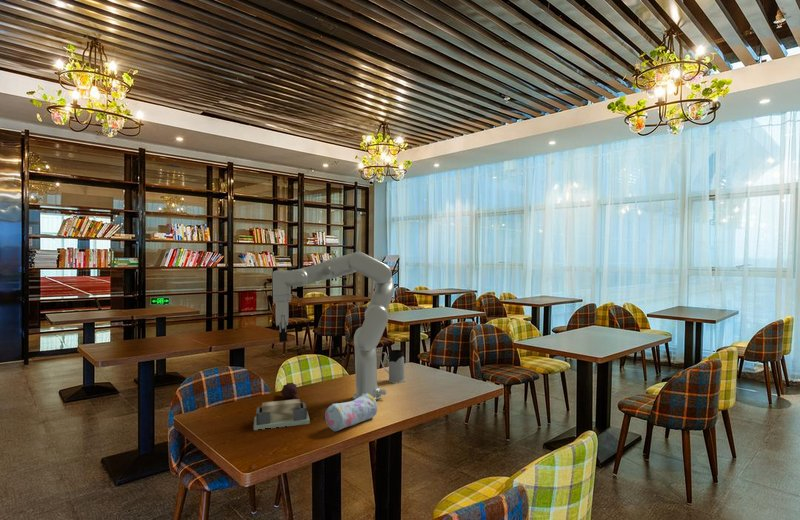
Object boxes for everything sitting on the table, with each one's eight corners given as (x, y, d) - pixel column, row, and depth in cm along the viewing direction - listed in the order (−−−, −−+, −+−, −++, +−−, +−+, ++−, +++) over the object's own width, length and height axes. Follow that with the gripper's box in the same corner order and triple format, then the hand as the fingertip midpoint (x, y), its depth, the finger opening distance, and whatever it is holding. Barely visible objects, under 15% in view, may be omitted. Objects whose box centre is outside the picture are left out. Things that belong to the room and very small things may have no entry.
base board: (307, 414, 183) (307, 411, 183) (309, 423, 172) (309, 419, 172) (254, 420, 178) (254, 417, 178) (253, 430, 167) (253, 426, 167)
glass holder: (399, 383, 227) (398, 353, 227) (376, 380, 235) (375, 351, 235) (408, 379, 235) (407, 350, 235) (385, 376, 242) (385, 348, 242)
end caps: (305, 412, 182) (304, 401, 182) (306, 419, 173) (306, 408, 173) (257, 417, 177) (256, 407, 177) (256, 425, 168) (256, 414, 168)
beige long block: (300, 414, 179) (299, 398, 179) (300, 418, 174) (300, 402, 175) (262, 418, 176) (262, 402, 176) (262, 422, 171) (261, 406, 171)
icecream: (274, 382, 212) (286, 391, 200) (289, 375, 216) (301, 384, 204) (277, 395, 214) (290, 406, 201) (292, 389, 218) (305, 398, 205)
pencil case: (363, 414, 182) (362, 390, 182) (379, 418, 176) (379, 393, 177) (323, 430, 165) (322, 403, 165) (340, 435, 160) (339, 407, 160)
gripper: (273, 298, 205) (274, 339, 204) (273, 300, 190) (274, 344, 190) (290, 297, 207) (291, 338, 206) (291, 299, 192) (293, 343, 192)
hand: (283, 341), depth 198 cm, fingers closed
